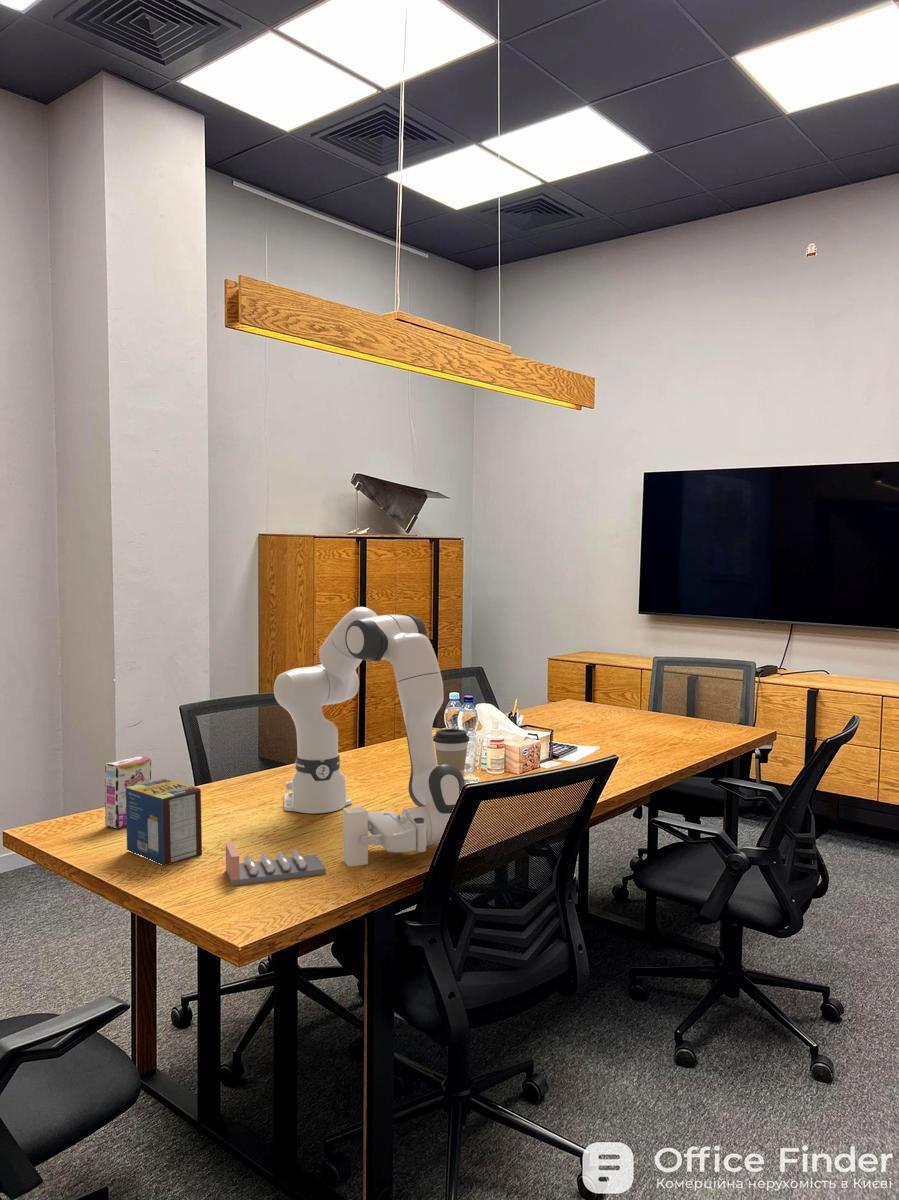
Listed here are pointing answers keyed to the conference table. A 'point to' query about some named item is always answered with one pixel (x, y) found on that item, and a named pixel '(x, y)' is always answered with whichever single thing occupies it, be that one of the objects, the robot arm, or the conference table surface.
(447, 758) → the coffee cup
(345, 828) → the wooden block
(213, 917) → the conference table surface
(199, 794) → the protein box
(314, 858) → the roller track
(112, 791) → the candy bar box
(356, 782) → the conference table surface
